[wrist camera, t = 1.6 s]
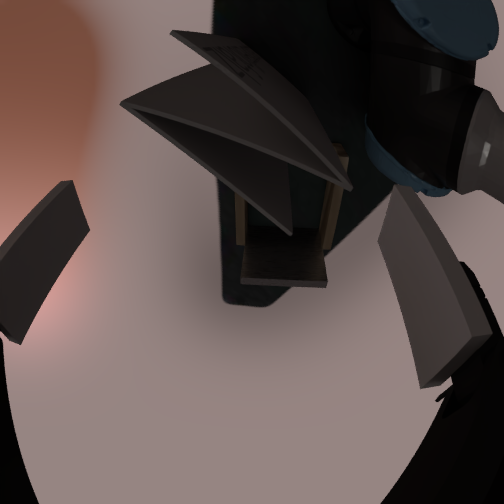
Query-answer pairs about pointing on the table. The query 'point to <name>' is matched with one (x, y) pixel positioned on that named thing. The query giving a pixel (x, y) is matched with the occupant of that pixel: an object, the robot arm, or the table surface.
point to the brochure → (241, 124)
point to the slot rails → (327, 216)
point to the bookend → (283, 258)
